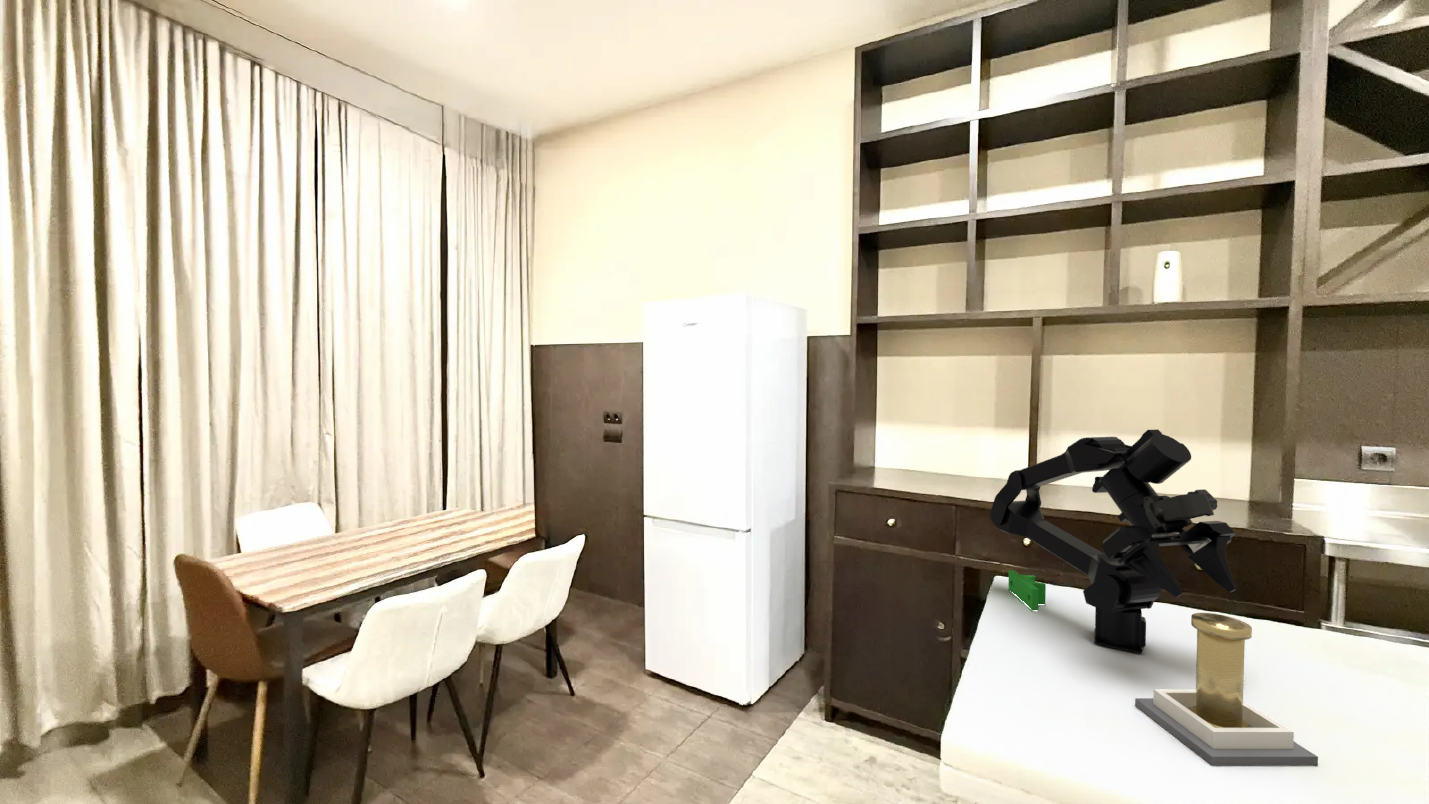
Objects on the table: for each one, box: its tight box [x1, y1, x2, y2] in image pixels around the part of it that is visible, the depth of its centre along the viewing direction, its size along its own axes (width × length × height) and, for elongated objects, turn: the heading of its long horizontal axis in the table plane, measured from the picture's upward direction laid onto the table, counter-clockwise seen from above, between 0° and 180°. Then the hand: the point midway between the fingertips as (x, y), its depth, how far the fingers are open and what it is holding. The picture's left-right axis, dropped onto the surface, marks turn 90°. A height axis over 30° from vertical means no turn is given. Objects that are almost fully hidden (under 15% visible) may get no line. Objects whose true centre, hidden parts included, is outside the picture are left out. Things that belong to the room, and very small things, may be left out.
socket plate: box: [1134, 688, 1319, 766], centre depth 71 cm, size 12×12×3 cm
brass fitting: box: [1189, 612, 1253, 728], centre depth 71 cm, size 6×6×13 cm
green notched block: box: [1007, 569, 1047, 611], centre depth 114 cm, size 11×4×5 cm, turn 174°
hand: (1206, 593), depth 81 cm, fingers open, 9 cm apart
